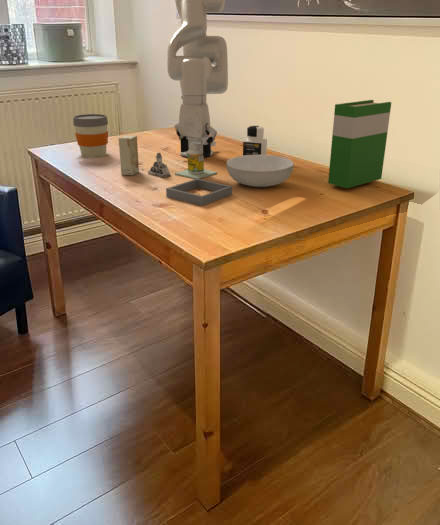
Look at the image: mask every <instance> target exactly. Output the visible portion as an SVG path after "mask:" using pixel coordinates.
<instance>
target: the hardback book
mask: <svg viewBox="0 0 440 525" xmlns="http://www.w3.org/2000/svg"><path fill="white" fill-rule="evenodd" d="M391 107H392V101H385V102H374V99H368V100H367V99H366V100H359V101H353V102H344V103H336V104H335V105H334V112H333V114H334V115H333V122H332V123H333V126H332V137H331V148H330V158H329V168H328V169H329V170H328V171H329V172H328V179H327V180H328V181H327V184H329V185H334V186H337V187H340V188H344V189H350V188H354V187H357V186H360V185H364V184H367V183H368V184H369V183H371V182H375V181H378V180H381V179H382V177H383V170H384V169H383V168H384V163H385V161H384V160H385V154H386V146H387V139H388V130H389V124H390V118H391V117H390V115H391Z"/></svg>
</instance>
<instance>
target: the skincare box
mask: <svg viewBox="0 0 440 525" xmlns="http://www.w3.org/2000/svg"><path fill="white" fill-rule="evenodd" d="M118 148H119V150H118V151H119V161H120V174H121V175H123V176H135V175H136V174H137V173H139V172H140V165H139V163H140V162H139V149H138V148H139V147H138V136H137V135H131V134H130V135H127V134H126V135H123V136H121V137H118Z"/></svg>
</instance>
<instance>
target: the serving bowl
mask: <svg viewBox="0 0 440 525" xmlns="http://www.w3.org/2000/svg"><path fill="white" fill-rule="evenodd" d="M294 163H295V162H294V161H293V160H292V159H289V158H288V157H283V156H280V155H279V156H278V155H271V154H266V155H244V156H243V155H239V156H235V157H232V158H229V159H227V161H226V164H225V166H226V170H227V173H228V174H229V176H230V178H232V180H234V181H235V182H237V183H239V184H241V185H244V186H247V187H248V186H249V187H253V188H268V187H272V186H277V185H279V184H282V183H284V182H285V181H287V180H288V179H289V178H290V176H291V174H292V173H293V169H294V165H295V164H294Z"/></svg>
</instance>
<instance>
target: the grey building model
mask: <svg viewBox="0 0 440 525" xmlns="http://www.w3.org/2000/svg"><path fill="white" fill-rule="evenodd" d="M155 160H156V161H154V162H153V165H151V167H150V169H149V170H148V173H147V174H148V175H151V176H155V177H158V178H166V177H169V176H171V172H170V170H169V168H168V165H167V164H165V163H164V162H163V156H162V153H161V152H157V153H156V156H155Z"/></svg>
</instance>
